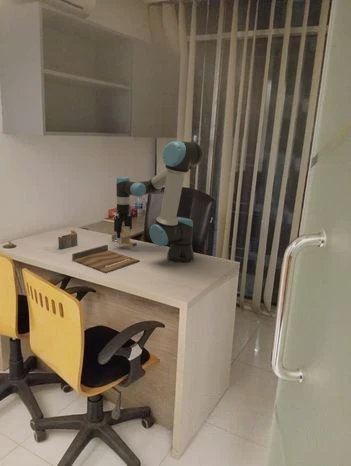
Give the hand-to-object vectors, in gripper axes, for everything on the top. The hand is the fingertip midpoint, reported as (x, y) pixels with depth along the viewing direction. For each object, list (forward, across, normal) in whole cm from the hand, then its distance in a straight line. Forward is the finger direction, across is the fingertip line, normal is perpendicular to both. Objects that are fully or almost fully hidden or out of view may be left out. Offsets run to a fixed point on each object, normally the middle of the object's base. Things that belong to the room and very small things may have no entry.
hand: (123, 242), depth 217 cm
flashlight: (+4, -13, -15) cm, 20 cm away
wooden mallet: (+1, 0, +4) cm, 4 cm away
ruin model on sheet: (+4, +22, -24) cm, 32 cm away
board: (+4, +23, +10) cm, 25 cm away
